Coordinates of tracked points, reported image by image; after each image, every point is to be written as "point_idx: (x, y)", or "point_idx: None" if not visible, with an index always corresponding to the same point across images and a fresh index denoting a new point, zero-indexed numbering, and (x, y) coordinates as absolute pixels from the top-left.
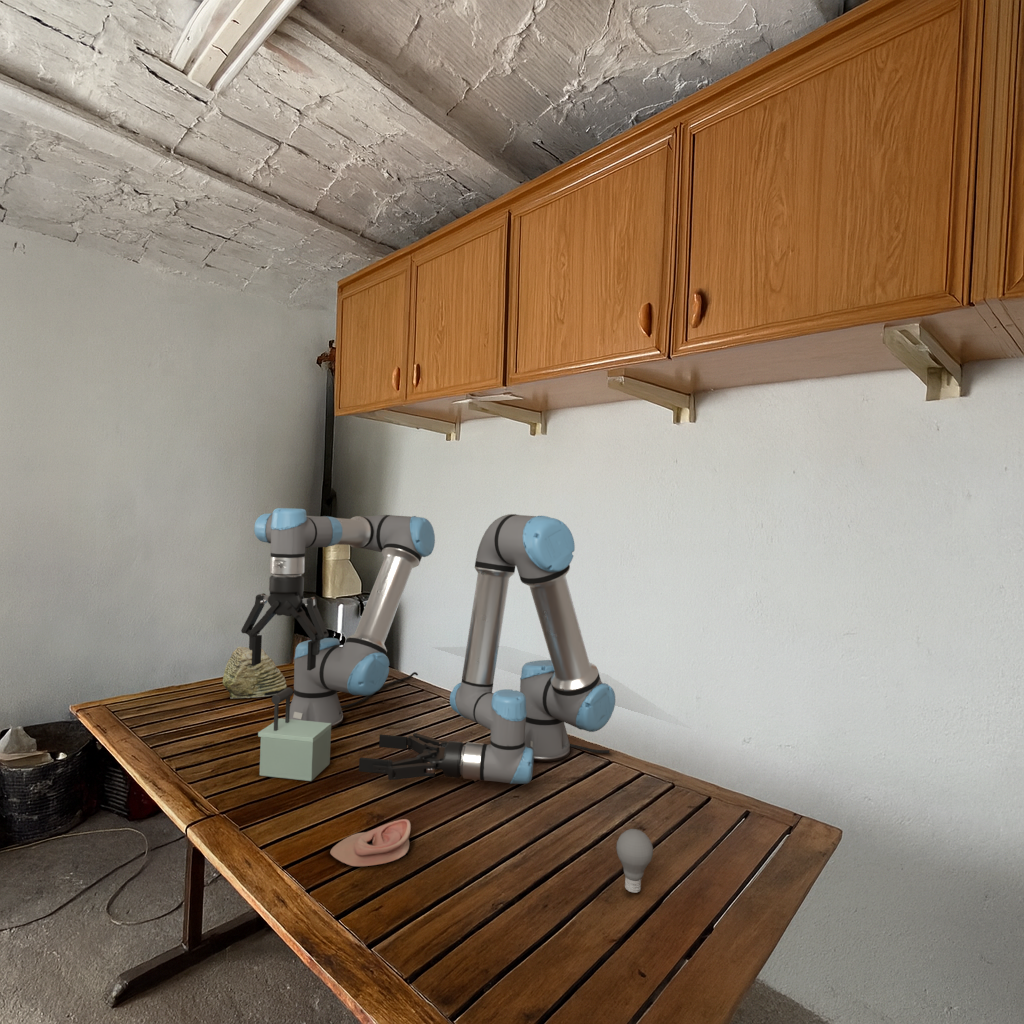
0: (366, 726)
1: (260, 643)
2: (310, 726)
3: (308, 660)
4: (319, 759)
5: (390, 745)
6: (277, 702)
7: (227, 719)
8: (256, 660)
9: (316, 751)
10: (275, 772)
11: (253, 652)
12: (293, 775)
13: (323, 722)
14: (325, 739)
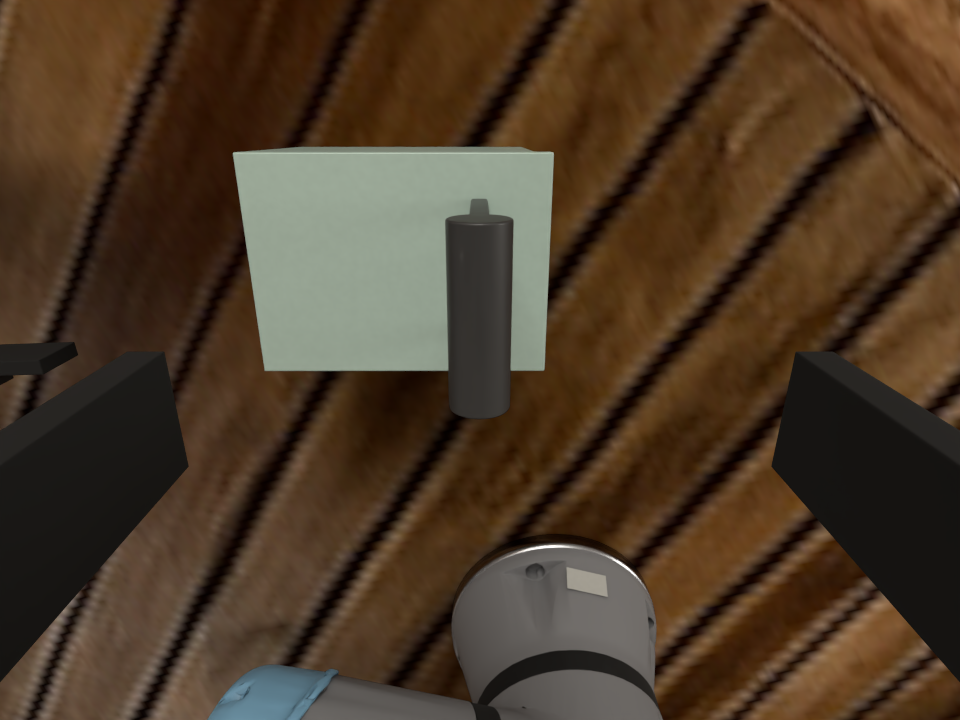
0: (361, 623)
1: (930, 612)
2: (336, 303)
3: (82, 401)
4: None
5: (16, 347)
6: (464, 215)
7: None
8: (814, 407)
9: None
10: (452, 147)
11: (919, 421)
12: (374, 147)
13: (305, 369)
14: None
